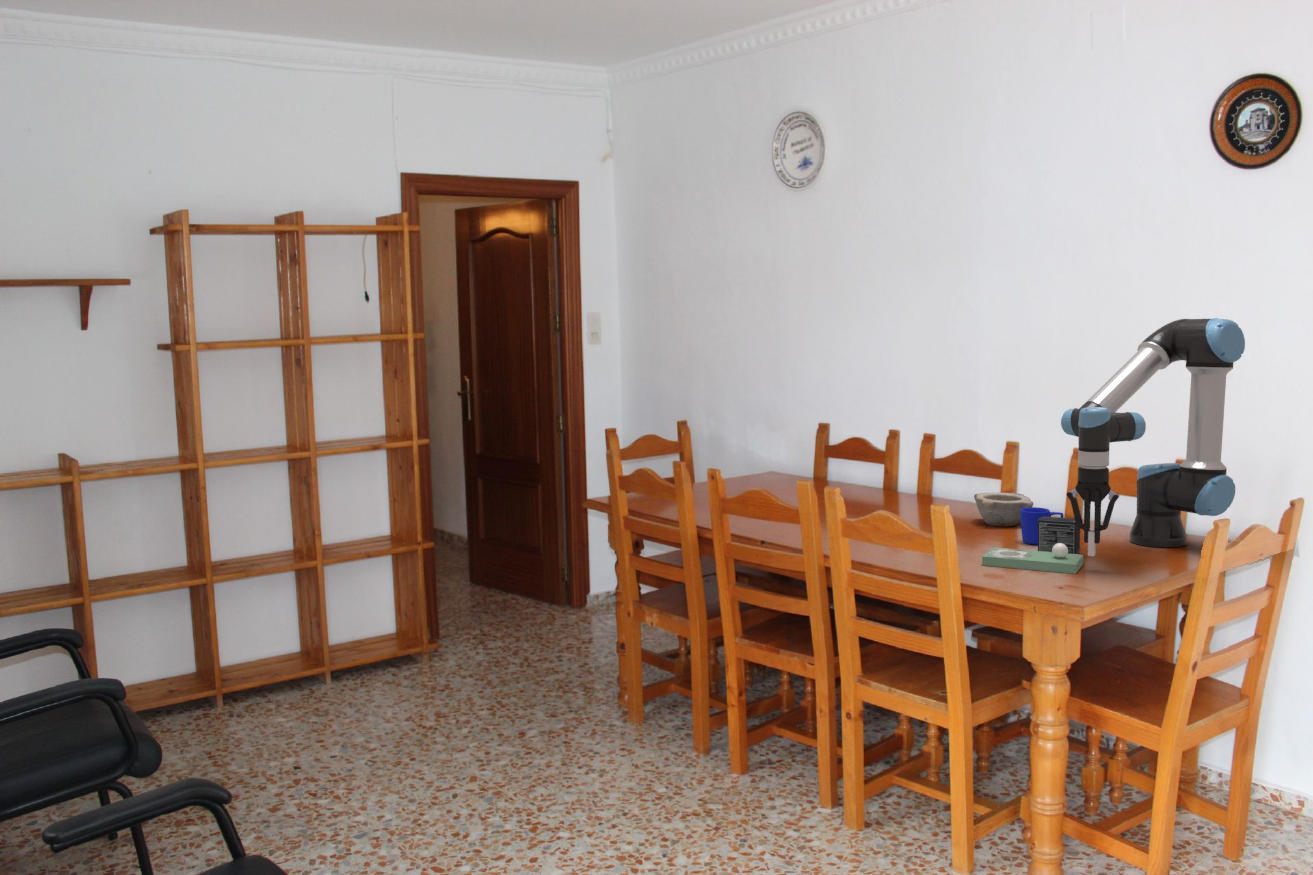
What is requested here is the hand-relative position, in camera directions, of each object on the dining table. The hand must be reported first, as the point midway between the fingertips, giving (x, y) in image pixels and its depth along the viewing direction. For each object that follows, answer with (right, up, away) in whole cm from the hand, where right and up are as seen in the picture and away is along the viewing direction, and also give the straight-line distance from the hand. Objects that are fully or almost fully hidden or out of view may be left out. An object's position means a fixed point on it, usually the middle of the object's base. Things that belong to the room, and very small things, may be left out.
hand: (1091, 555), depth 278 cm
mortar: (-3, +3, +62) cm, 62 cm away
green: (-13, -4, +8) cm, 15 cm away
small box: (-2, -2, +18) cm, 18 cm away
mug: (-1, 0, +33) cm, 33 cm away
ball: (-7, +1, +4) cm, 8 cm away
